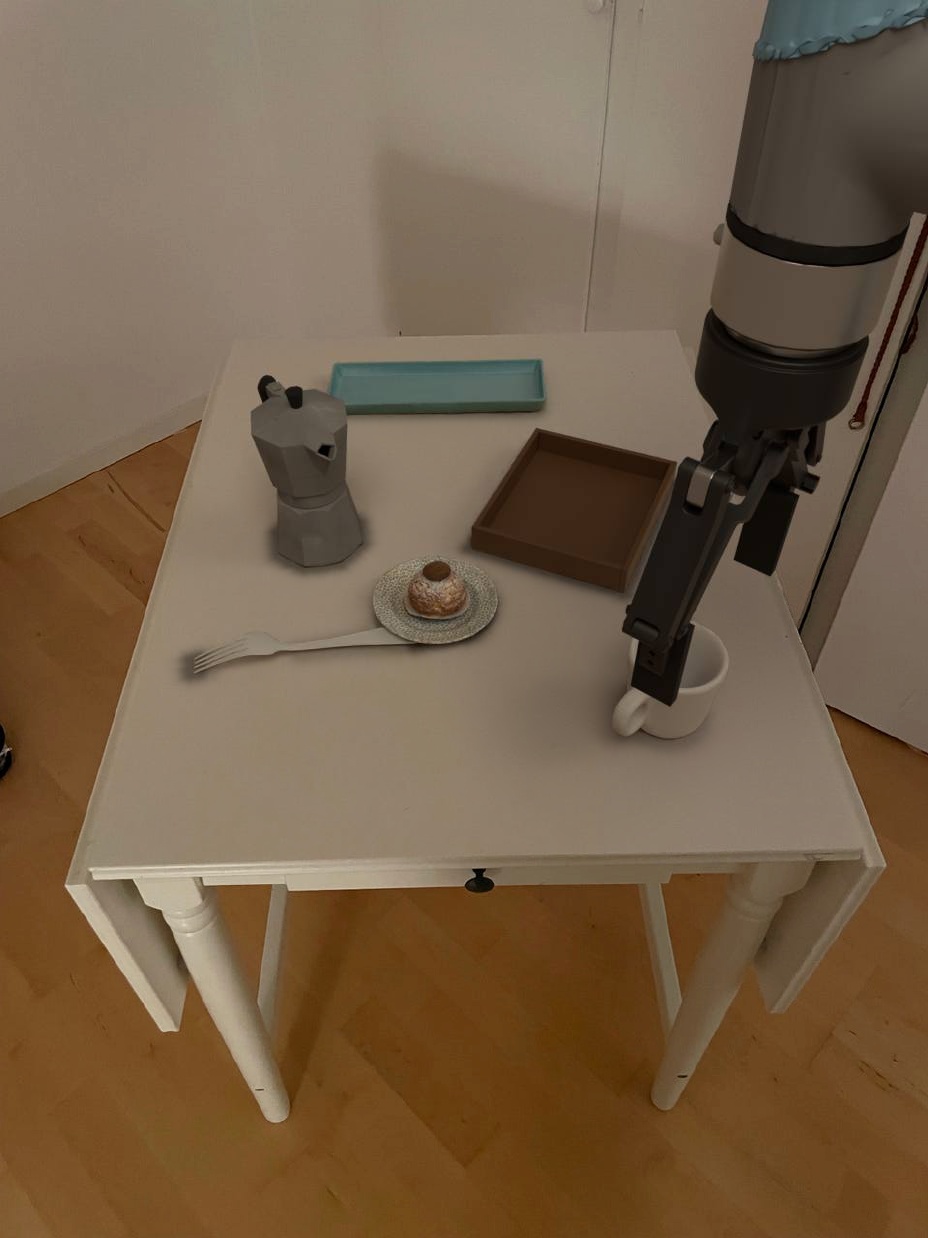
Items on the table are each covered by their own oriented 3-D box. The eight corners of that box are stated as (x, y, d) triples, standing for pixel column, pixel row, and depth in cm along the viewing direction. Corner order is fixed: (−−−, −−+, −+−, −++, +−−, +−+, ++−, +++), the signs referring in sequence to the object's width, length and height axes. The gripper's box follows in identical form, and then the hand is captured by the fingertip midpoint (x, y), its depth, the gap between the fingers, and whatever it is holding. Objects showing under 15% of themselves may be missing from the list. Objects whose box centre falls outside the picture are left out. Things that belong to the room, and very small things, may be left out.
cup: (647, 787, 74) (661, 729, 68) (576, 728, 78) (583, 668, 72) (730, 715, 79) (750, 655, 73) (659, 663, 83) (672, 602, 77)
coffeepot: (390, 557, 93) (374, 407, 80) (306, 593, 90) (275, 443, 76) (323, 478, 102) (299, 331, 89) (244, 508, 99) (207, 360, 85)
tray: (673, 483, 100) (677, 461, 98) (624, 593, 89) (627, 570, 87) (534, 449, 105) (536, 427, 103) (471, 549, 94) (471, 527, 91)
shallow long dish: (326, 419, 110) (324, 401, 108) (335, 376, 116) (332, 359, 114) (545, 417, 109) (546, 400, 107) (542, 375, 115) (543, 357, 113)
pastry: (485, 661, 83) (486, 625, 80) (357, 640, 85) (354, 604, 81) (507, 573, 91) (509, 538, 88) (390, 556, 93) (388, 521, 90)
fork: (421, 662, 86) (423, 643, 84) (193, 677, 83) (190, 657, 81) (417, 640, 88) (419, 621, 86) (194, 654, 85) (191, 634, 83)
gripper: (819, 204, 51) (740, 500, 66) (574, 416, 38) (547, 723, 53) (957, 240, 48) (840, 541, 63) (742, 485, 34) (661, 790, 50)
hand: (706, 625), depth 58 cm, fingers open, 13 cm apart
